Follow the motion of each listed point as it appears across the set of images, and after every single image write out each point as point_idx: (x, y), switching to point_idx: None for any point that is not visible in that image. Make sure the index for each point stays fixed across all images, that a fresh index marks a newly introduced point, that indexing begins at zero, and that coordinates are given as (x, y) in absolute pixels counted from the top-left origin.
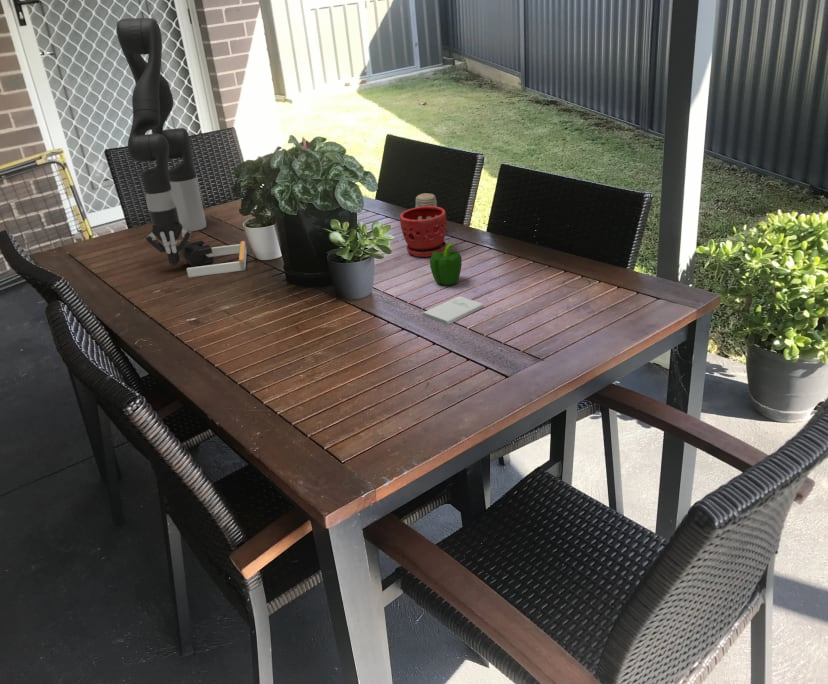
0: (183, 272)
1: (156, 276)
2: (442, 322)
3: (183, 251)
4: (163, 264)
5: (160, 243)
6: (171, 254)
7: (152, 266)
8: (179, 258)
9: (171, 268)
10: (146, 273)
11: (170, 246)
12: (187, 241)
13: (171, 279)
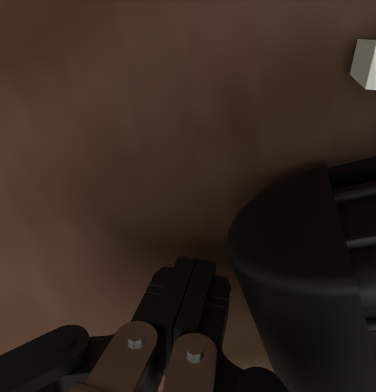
0: (251, 320)
1: (101, 297)
2: None
3: (274, 367)
4: (96, 101)
5: (22, 387)
6: (166, 368)
7: (26, 109)
8: (229, 296)
9: (169, 217)
10: (31, 225)
11: (142, 381)
12: (357, 317)
13: None
